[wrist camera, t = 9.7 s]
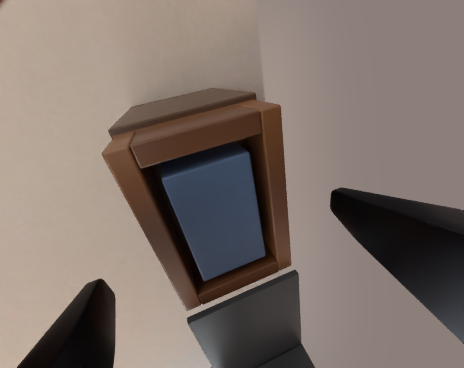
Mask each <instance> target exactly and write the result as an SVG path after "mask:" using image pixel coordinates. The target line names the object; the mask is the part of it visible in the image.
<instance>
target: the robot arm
mask: <svg viewBox="0 0 464 368" xmlns="http://www.w3.org/2000/svg"><path fill="white" fill-rule="evenodd" d="M330 208H331V211H332V212H333V214H334V215H335V216H336V217H337V218H338V219H339V221H340V222H341V223H342V224H343V225H344V226H345V228H347V230H348V231H349V232H350V233H351V234H352V236H353V237H354V238H355V239H356V240H357V241H358V242H359V243H360V244H361V245H362V246H363V247H364V248H365V249H366V250H367V251H368V252H369V253H370V254H371V255H372V256H373V257H374V258H375V259H376V260H377V261H378V262H379V263H380V264H382V265H383V266H384V267H385V268H386V269H387V270H388V271H389V272H390V273H391V274H392V275H393V276H394V277H395V278H396V279H397V280H398V281H399V282H400V283H401V284H402V285H403V286H404V287H405V288H406V289H407V290H409V292H410V293H412V294H413V295H414V296H415V297H416V298H417V299H418V300H419V301H420V302H421V303H422V304H423V305H424V306H425V307H426V308H427V309H428V310H429V311H430V312H431V313H432V314H433V315H434V316H435V317H436V318H438V320H440V321H441V322H442V323H443V324H444V325H445V326H446V327H447V328H448V329H449V330H450V331H451V332H452V333H453V334H454V335H455V336H456V337H457V338H458V339H459V340H460V341H461V342H463V344H464V210H460V209H456V208H450V207H445V206H439V205H434V204H428V203H423V202H418V201H412V200H406V199H401V198H395V197H391V196H385V195H380V194H374V193H369V192H363V191H358V190H353V189H347V188H338V189H335V190H333V191H332V192H331V200H330ZM114 355H115V294H114V292H113V291H112V290H111V288H110V287H109V286H108V285H107V283H106V282H105V281H104V280H103V279H97V280H95V281H92V282H89V283H88V284H86V285H85V286H84V288H83V289H82V290H81V291H80V292H79V294H78V295H77V296H76V297H75V298H74V300H73V301H72V302H71V303H70V304H69V306H68V307H67V308H66V309H65V310H64V312H63V313H62V314H61V315H60V316H59V318H58V319H57V320H56V321H55V322H54V324H53V325H52V326H51V327H50V328H49V330H48V331H47V332H46V333H45V334H44V336H43V337H42V338H41V339H40V340H39V342H38V343H37V344H36V345H35V346H34V347H33V349H32V350H31V351H30V352H29V353H28V355H27V356H26V357H25V358H24V359H23V361H22V362H21V363H20V364H19V365H18V367H17V368H113V364H114Z"/></svg>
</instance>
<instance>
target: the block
mask: <svg viewBox="0 0 464 368" xmlns="http://www.w3.org/2000/svg"><path fill="white" fill-rule="evenodd" d="M161 176H162V183H163V185H164V187H165V190H166V192H167V195H168V197H169V199H170V202H171V204H172V207H173V209H174V212H175V214H176V216H177V219H178V221H179V224H180V226H181V228H182V231H183V233H184V236H185V238H186V240H187V243H188V245H189V248H190V250H191V252H192V255H193V257H194V260H195V262H196V264H197V267H198V269H199V272H200V274H201V276H202V279H203V281H206V280H209V279H211V278H214V277H216V276H218V275H221V274H223V273H225V272H228V271H230V270H233V269H235V268H237V267H240V266H242V265H245V264H247V263H249V262H252V261H254V260H256V259H259V258H261V257H264V256H265V248H264V242H263V235H262V229H261V223H260V216H259V210H258V204H257V197H256V191H255V185H254V178H253V172H252V166H251V159H250V153H249V152H248V151H247V150H245V149H244V148H243V147H241V146H240V145H239V144H237V143H236V142H235V141H233V142H230V143H226V144H223V145H220V146H216V147H213V148H209V149H206V150H203V151H199V152H196V153H192V154H189V155H186V156H182V157H179V158H175V159H172V160H169V161H165V162H162V163H161Z"/></svg>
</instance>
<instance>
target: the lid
mask: <svg viewBox="0 0 464 368" xmlns="http://www.w3.org/2000/svg"><path fill="white" fill-rule="evenodd" d="M299 300H300V299H299V276H298V272H297V271H296V270H293V271H291V272H289V273H286V274H284V275H282V276H279V277H277V278H275V279H273V280H271V281H268V282H266V283H264V284H262V285H259V286H257V287H255V288H253V289H250V290H248V291H246V292H244V293H241V294H239V295H237V296H235V297H232V298H230V299H228V300H226V301H223V302H221V303H219V304H217V305H215V306H212V307H210V308H208V309H206V310H203V311H201V312H199V313H197V314H194V315H192V316H190V317H188V318H187V322H188V325H189V327H190V328H191V330H192V332H193V334H194V335H195V337H196V339H197V341H198V343H199V344H200V346H201V348H202V350H203V351H204V353H205V355H206V357H207V358H208V360H209V362H210V364H211V365H212V367H213V368H315V367H314V365H313V363H312V361H311V360H310V358H309V356H308V354H307V353H306V351H305V349H304V347H303V345H302V344H301V323H300V301H299Z"/></svg>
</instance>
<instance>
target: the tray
mask: <svg viewBox="0 0 464 368" xmlns="http://www.w3.org/2000/svg"><path fill="white" fill-rule="evenodd" d="M233 141H235V142H236V143H237V144H239V145H240V146H241V147H243V148H244V149H245V150H247V151H248V152H249V153H250V159H251V166H252V172H253V178H254V185H255V191H256V197H257V204H258V210H259V216H260V223H261V229H262V235H263V242H264V248H265V256H264V257H261V258H259V259H256V260H254V261H252V262H249V263H247V264H245V265H242V266H240V267H237V268H235V269H233V270H230V271H228V272H225V273H223V274H221V275H218V276H216V277H214V278H211V279H209V280H206V281H203V279H202V276H201V274H200V272H199V269H198V267H197V264H196V262H195V260H194V257H193V255H192V252H191V250H190V248H189V245H188V243H187V240H186V238H185V236H184V233H183V231H182V228H181V226H180V224H179V221H178V219H177V216H176V214H175V212H174V209H173V207H172V204H171V202H170V199H169V197H168V195H167V192H166V190H165V187H164V185H163V183H162V176H161V163H162V162H165V161H169V160H172V159H175V158H179V157H182V156H186V155H189V154H192V153H196V152H199V151H203V150H206V149H209V148H213V147H216V146H220V145H223V144H226V143H230V142H233ZM102 156H103V158H104V160H105V162H106V163H107V165H108V167H109V169H110V171H111V173H112V174H113V176H114V178H115V180H116V182H117V184H118V186H119V187H120V189H121V191H122V193H123V195H124V197H125V198H126V200H127V202H128V204H129V206H130V208H131V209H132V211H133V213H134V215H135V217H136V219H137V221H138V222H139V224H140V226H141V228H142V230H143V232H144V233H145V235H146V237H147V239H148V241H149V243H150V244H151V246H152V248H153V250H154V252H155V254H156V256H157V257H158V259H159V261H160V263H161V265H162V267H163V268H164V270H165V272H166V274H167V276H168V278H169V280H170V281H171V283H172V285H173V287H174V289H175V291H176V292H177V294H178V296H179V298H180V300H181V302H182V303H183V305H184V307H185V309H186V311H189V310H191V309H193V308H196V307H198V306H200V305H201V303H202V304H203V305H204V304H206V303H208V302H210V301H213V300H215V299H217V298H219V297H222V296H224V295H226V294H228V293H231V292H233V291H235V290H238V289H240V288H242V287H244V286H247V285H249V284H251V283H253V282H256V281H258V280H260V279H263V278H265V277H267V276H269V275H272V274H274V273H276V272H278V270H282V269H284V268H287V267H289V266H291V252H290V237H289V223H288V208H287V193H286V178H285V164H284V148H283V133H282V118H281V106H280V105H278V104H273V103H267V102H262V101H256V100H254V99H253V100H249V101H245V102H242V103H238V104H234V105H230V106H226V107H222V108H218V109H214V110H211V111H207V112H203V113H199V114H195V115H191V116H187V117H183V118H179V119H176V120H172V121H168V122H164V123H160V124H156V125H152V126H148V127H145V128H141V129H137V130H133V131H129V132H125V133H121V134H117V135H114V138H113V139H112V141H111V142H110V143H109V144H108V146H107V147H106V148H105V150H104V151H103V152H102Z"/></svg>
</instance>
